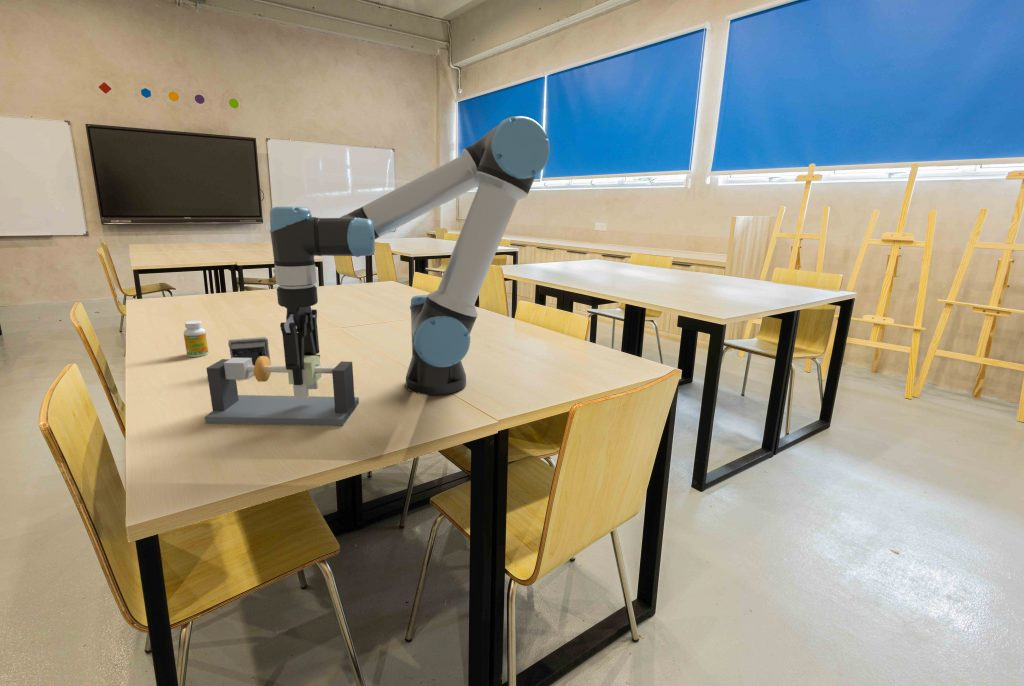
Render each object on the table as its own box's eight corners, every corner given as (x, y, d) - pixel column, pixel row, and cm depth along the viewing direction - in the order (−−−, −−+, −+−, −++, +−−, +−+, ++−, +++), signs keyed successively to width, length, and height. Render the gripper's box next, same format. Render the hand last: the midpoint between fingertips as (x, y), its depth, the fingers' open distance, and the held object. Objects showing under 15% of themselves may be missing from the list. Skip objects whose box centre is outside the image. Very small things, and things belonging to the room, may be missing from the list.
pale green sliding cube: (321, 376, 111) (319, 355, 109) (313, 384, 106) (311, 362, 105) (298, 376, 111) (296, 355, 109) (289, 384, 106) (286, 362, 105)
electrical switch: (271, 366, 140) (267, 334, 137) (271, 373, 136) (267, 341, 132) (233, 369, 137) (228, 337, 133) (231, 377, 132) (226, 344, 129)
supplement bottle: (189, 358, 144) (183, 325, 142) (185, 354, 148) (180, 321, 146) (210, 355, 148) (205, 322, 145) (206, 350, 152) (201, 319, 149)
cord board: (358, 403, 116) (355, 350, 113) (342, 425, 105) (338, 367, 101) (235, 401, 116) (228, 347, 112) (205, 423, 104) (196, 364, 101)
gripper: (295, 278, 111) (304, 378, 118) (257, 293, 94) (270, 409, 101) (330, 279, 112) (337, 379, 118) (298, 293, 94) (308, 410, 101)
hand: (306, 392), depth 109 cm, fingers closed on pale green sliding cube, 5 cm apart
